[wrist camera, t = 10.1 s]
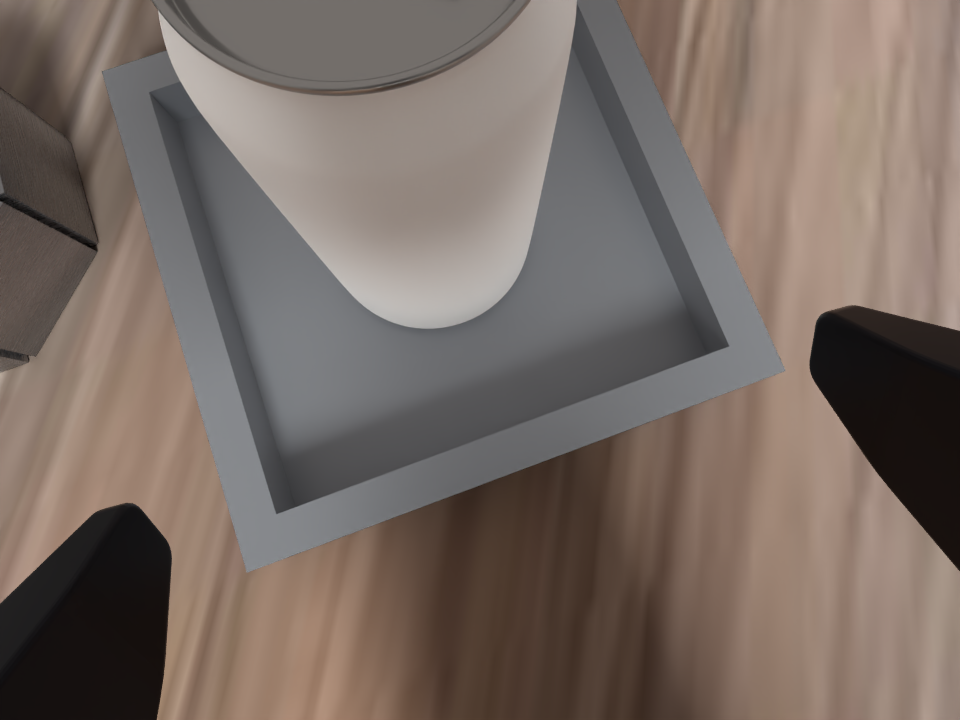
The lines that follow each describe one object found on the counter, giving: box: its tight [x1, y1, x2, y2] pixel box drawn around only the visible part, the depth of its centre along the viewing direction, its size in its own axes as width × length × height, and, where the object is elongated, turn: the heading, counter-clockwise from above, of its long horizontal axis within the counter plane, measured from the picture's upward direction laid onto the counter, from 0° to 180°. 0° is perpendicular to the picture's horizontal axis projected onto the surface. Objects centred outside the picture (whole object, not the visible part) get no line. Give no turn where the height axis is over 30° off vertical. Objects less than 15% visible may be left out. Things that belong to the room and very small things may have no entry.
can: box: [152, 0, 577, 329], centre depth 13 cm, size 6×6×12 cm
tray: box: [102, 0, 785, 572], centre depth 19 cm, size 16×16×2 cm
